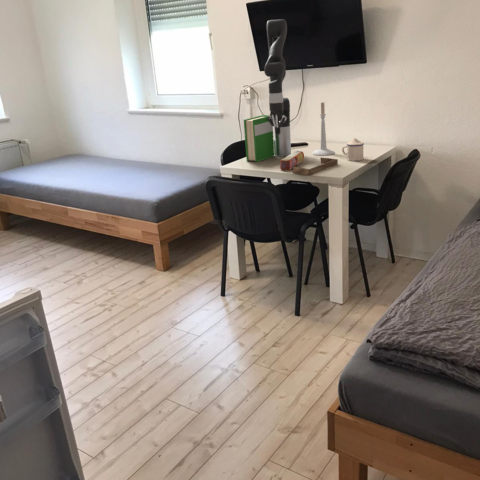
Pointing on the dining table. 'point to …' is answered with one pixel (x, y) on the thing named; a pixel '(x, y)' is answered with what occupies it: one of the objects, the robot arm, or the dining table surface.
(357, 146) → the teacup with lid
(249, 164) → the dining table surface
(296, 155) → the snack package
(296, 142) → the dining table surface
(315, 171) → the walnut pocket
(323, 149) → the candlestick
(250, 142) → the hardback book
